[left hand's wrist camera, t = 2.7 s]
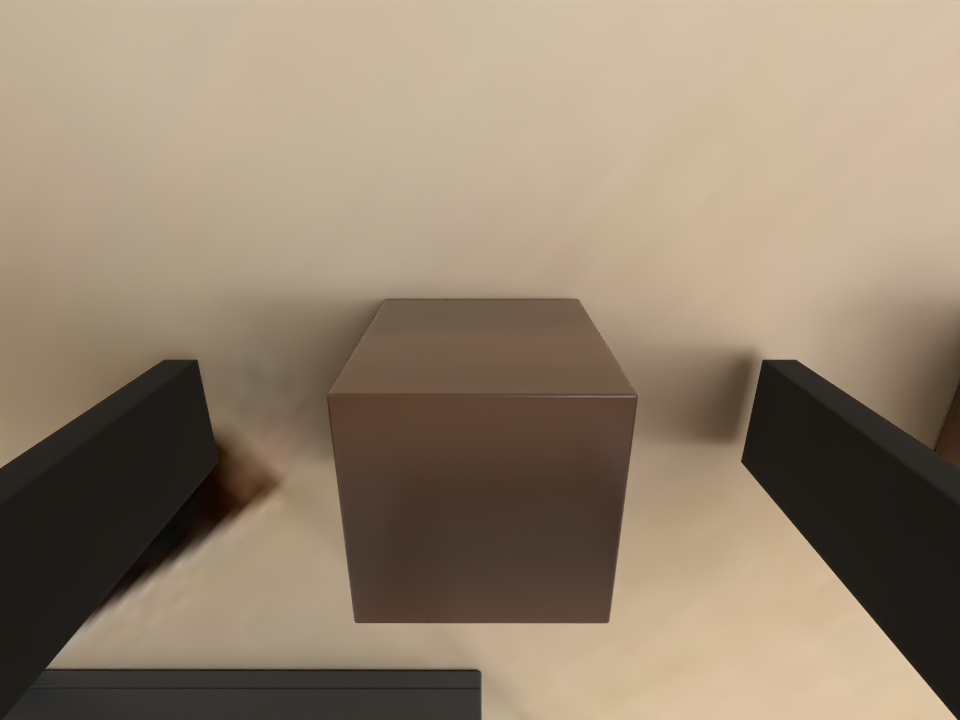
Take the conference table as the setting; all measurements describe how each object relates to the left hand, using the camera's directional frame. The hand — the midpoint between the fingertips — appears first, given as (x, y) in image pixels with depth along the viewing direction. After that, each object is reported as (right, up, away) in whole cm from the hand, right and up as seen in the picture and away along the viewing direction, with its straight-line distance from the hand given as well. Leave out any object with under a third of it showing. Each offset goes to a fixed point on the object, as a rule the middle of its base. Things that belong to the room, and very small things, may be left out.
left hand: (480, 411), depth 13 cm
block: (0, +1, +1) cm, 1 cm away
